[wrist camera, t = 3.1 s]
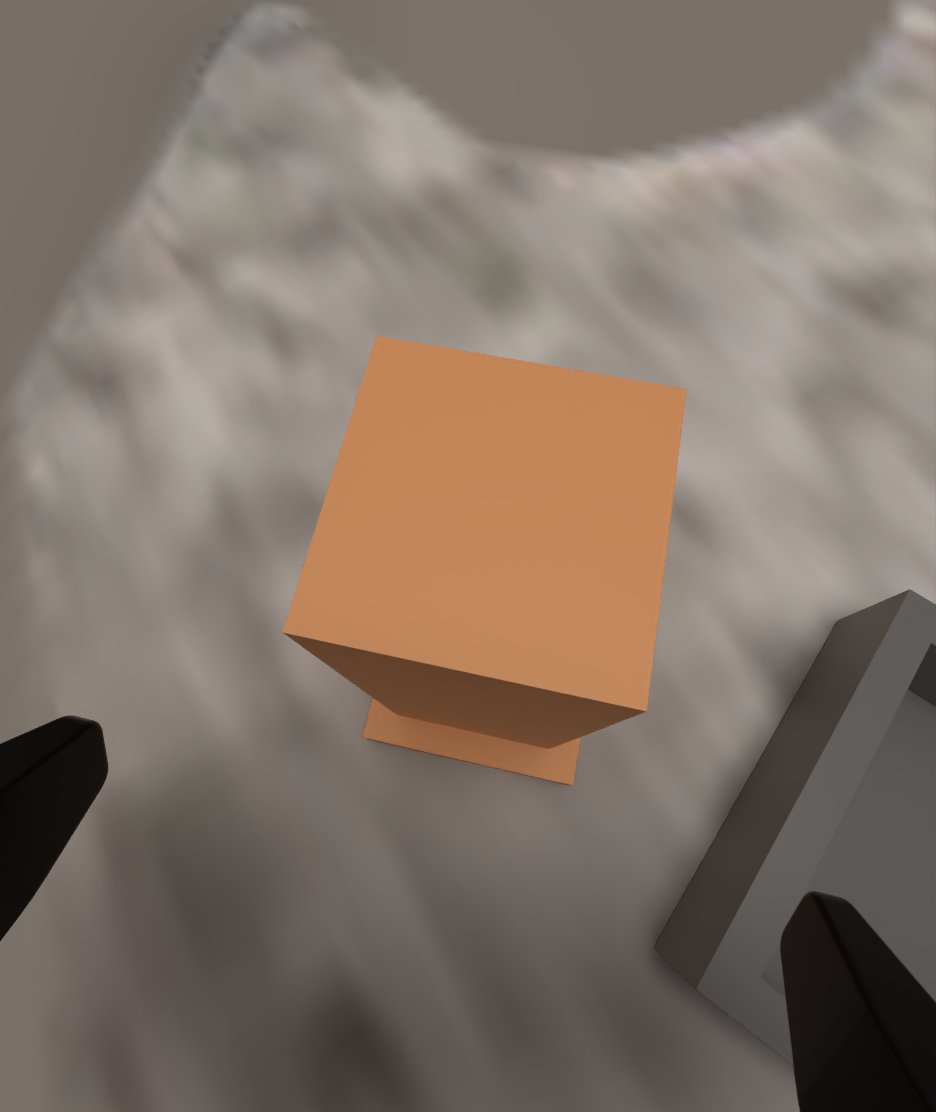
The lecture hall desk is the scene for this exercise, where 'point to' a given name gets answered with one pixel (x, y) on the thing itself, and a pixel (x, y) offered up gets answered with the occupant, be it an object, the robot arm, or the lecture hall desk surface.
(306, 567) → the orange post with base
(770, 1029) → the gray square tray
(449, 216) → the lecture hall desk surface
